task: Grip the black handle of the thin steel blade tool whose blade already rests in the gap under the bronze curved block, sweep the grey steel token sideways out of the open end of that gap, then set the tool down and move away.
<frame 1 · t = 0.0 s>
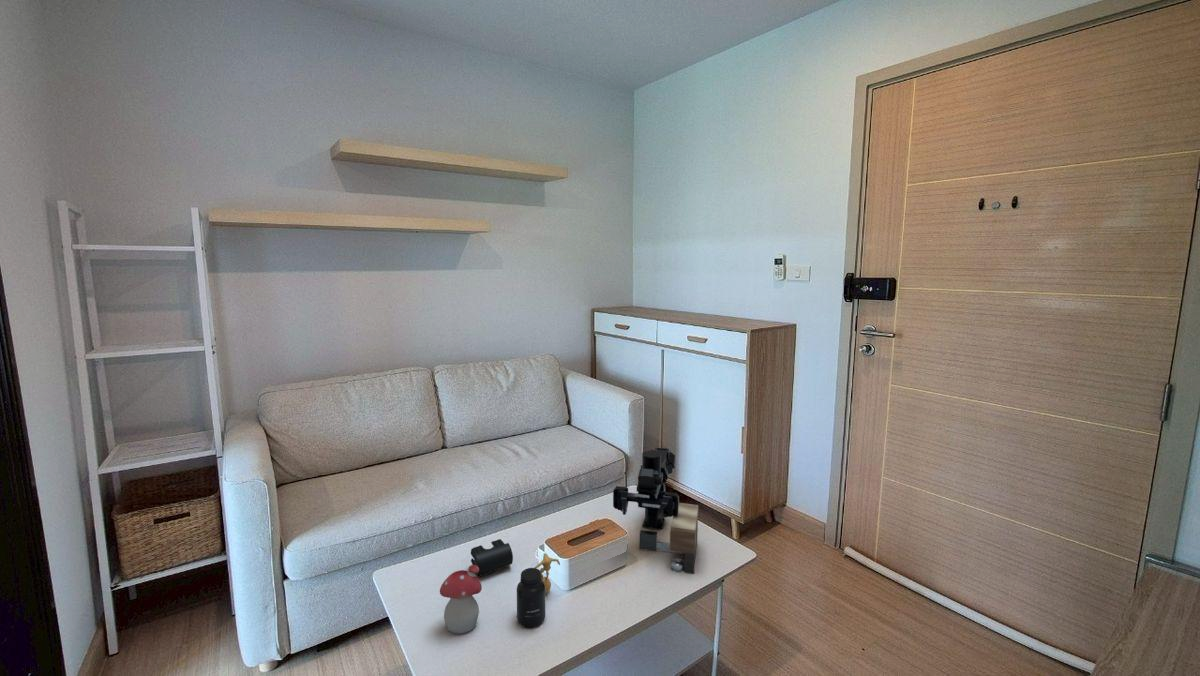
hand: (640, 515, 136), 17 cm above the table, tool horizontal, fingers open, 9 cm apart
bronze curved block: (684, 557, 145), on the table
blade tool: (648, 548, 149), on the table
steel token: (677, 568, 140), on the table
decorative ornament: (462, 625, 118), on the table
figurine: (544, 595, 129), on the table
supplement bottle: (531, 619, 120), on the table
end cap: (491, 570, 139), on the table
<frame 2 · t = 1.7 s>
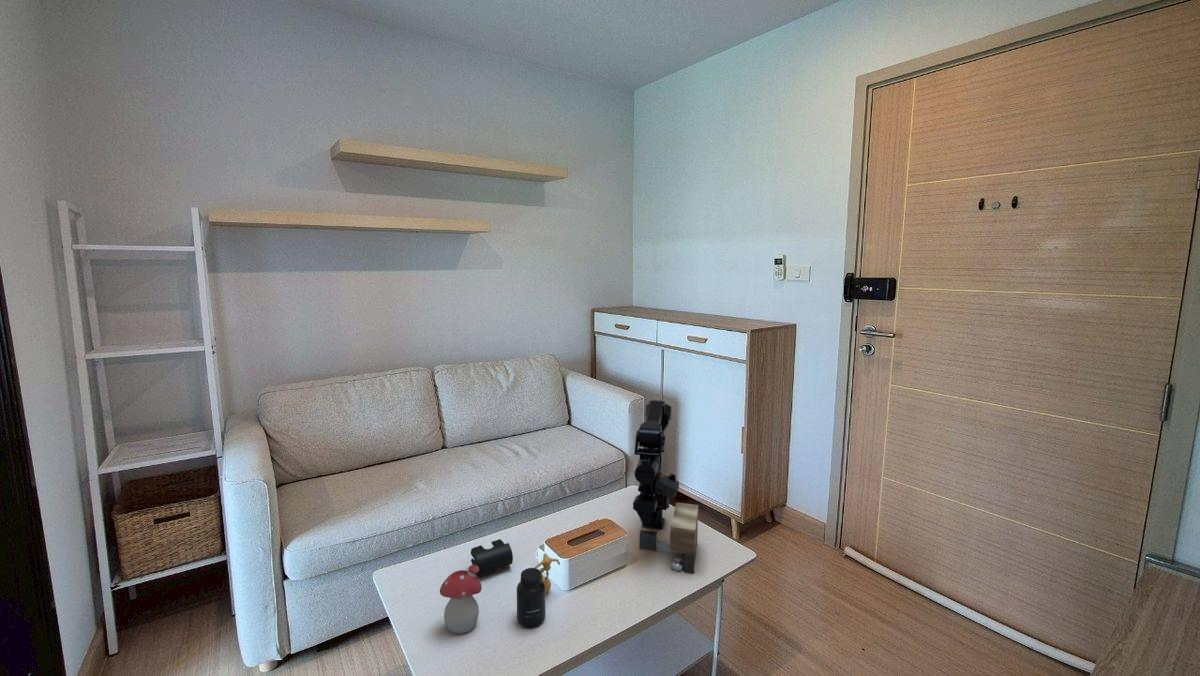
hand: (648, 518, 148), 9 cm above the table, tool pointing down, fingers open, 9 cm apart
nothing on the table moved.
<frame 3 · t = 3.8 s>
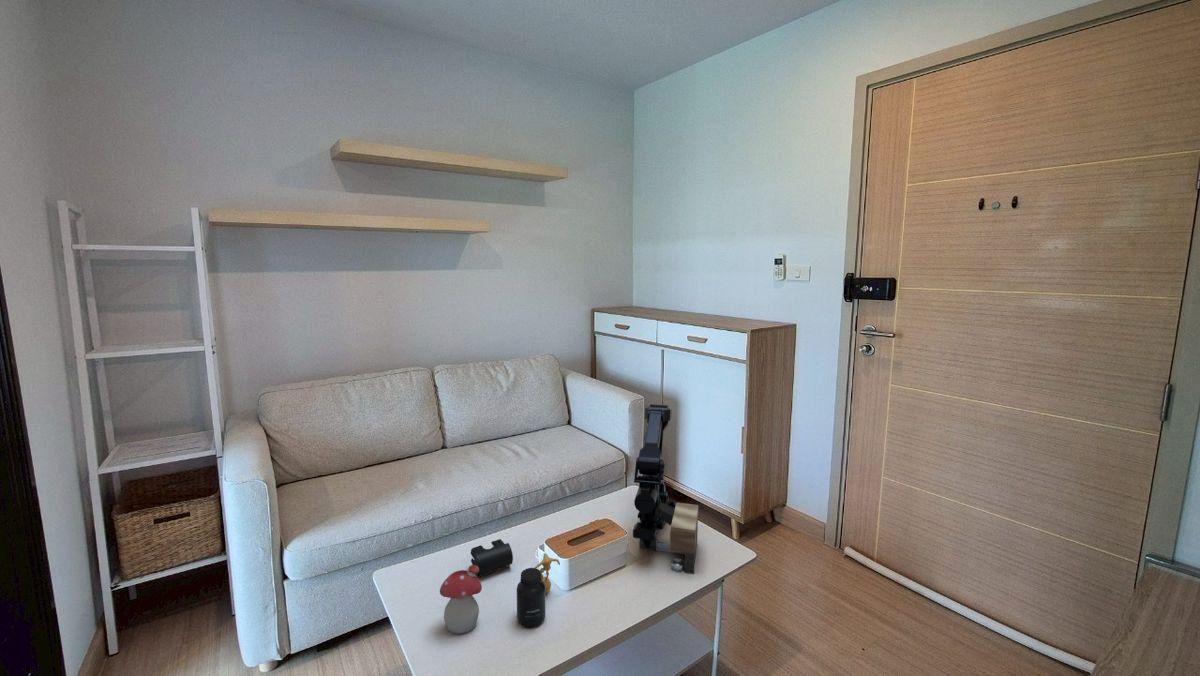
hand: (648, 544, 149), 1 cm above the table, tool pointing down, fingers closed on blade tool, 2 cm apart
blade tool: (648, 548, 149), on the table, touching gripper
everything else where it was.
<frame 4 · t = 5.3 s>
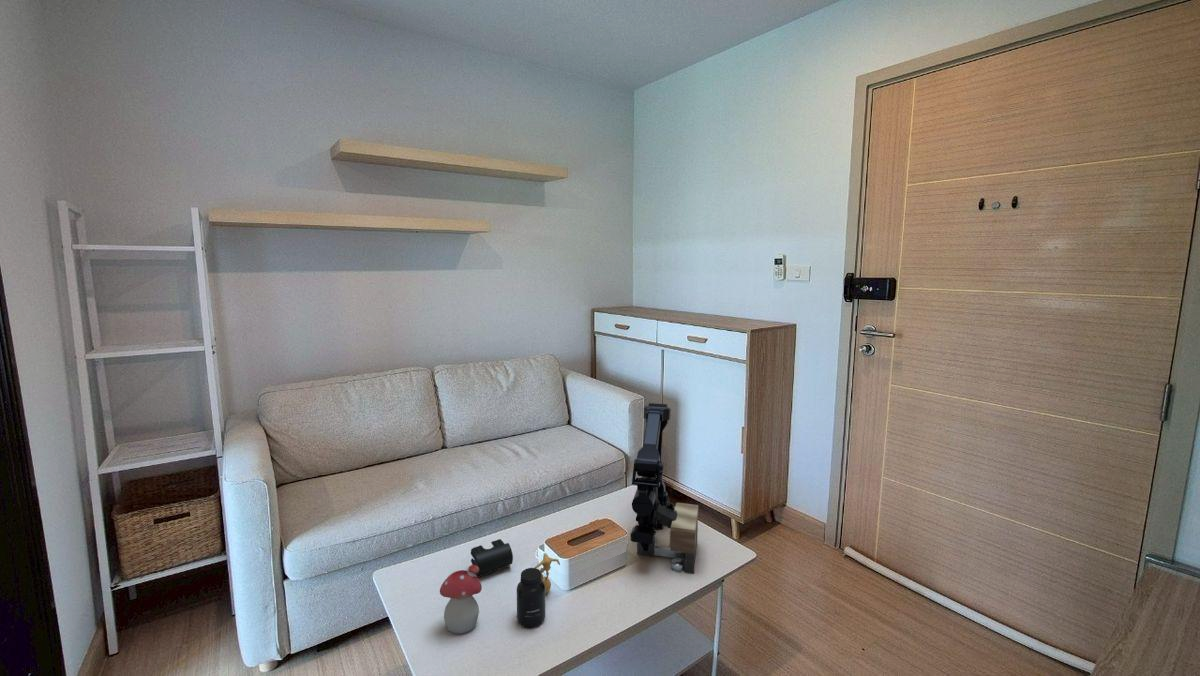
hand: (646, 548, 146), 2 cm above the table, tool pointing down, fingers closed on blade tool, 2 cm apart
blade tool: (646, 552, 146), point 1 cm above the table, touching gripper
everything else where it was.
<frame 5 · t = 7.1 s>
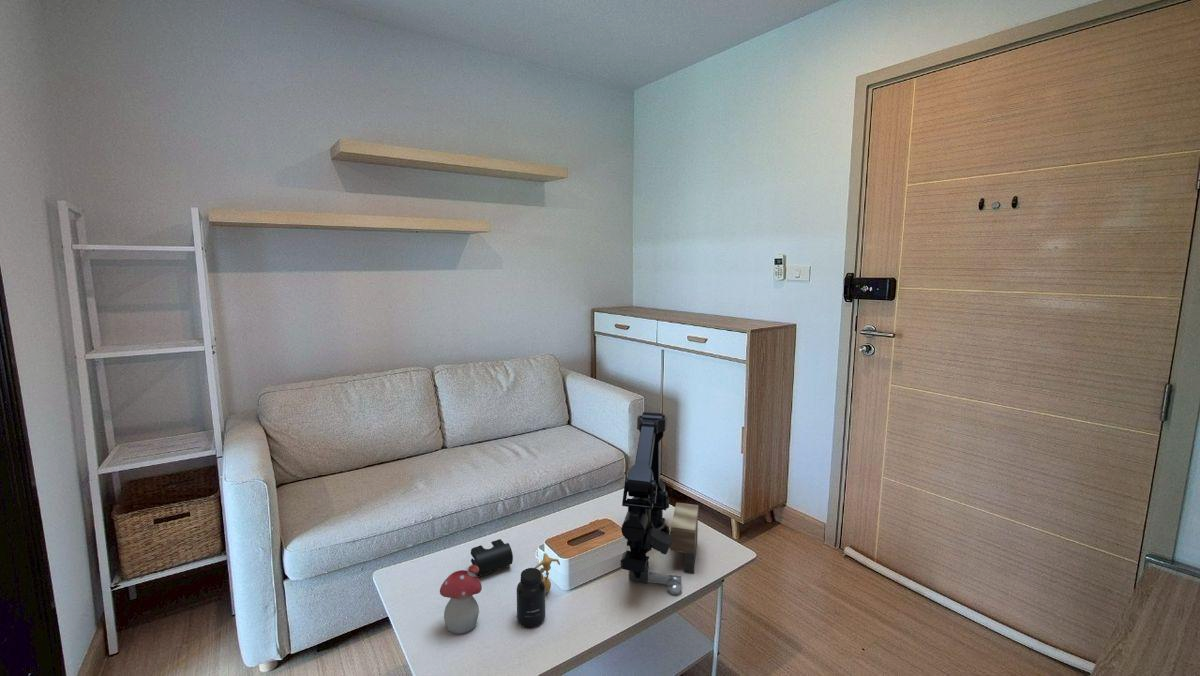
hand: (638, 574, 134), 2 cm above the table, tool pointing down, fingers closed on blade tool, 2 cm apart
blade tool: (638, 579, 134), point 1 cm above the table, touching gripper
steel token: (674, 591, 130), on the table
everything else where it was.
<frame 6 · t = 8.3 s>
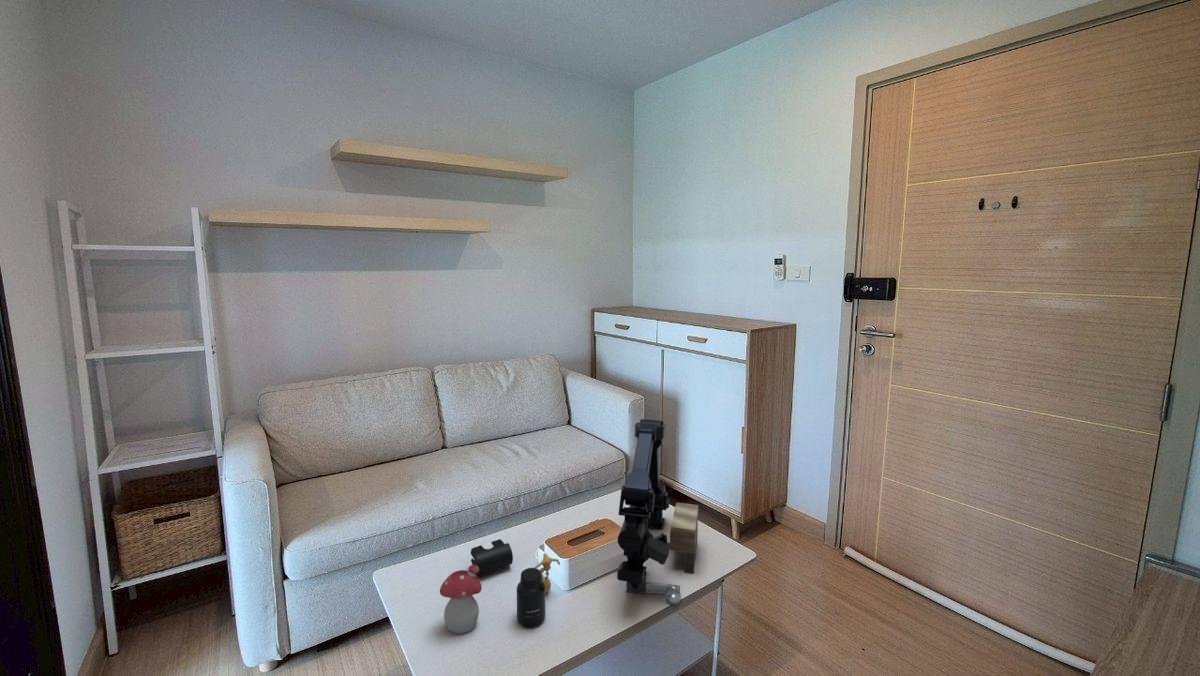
hand: (636, 585, 130), 2 cm above the table, tool pointing down, fingers closed on blade tool, 2 cm apart
blade tool: (636, 590, 130), on the table, touching gripper, steel token
steel token: (673, 600, 127), on the table, touching blade tool
everything else where it was.
when the fingers open (1 cm above the table, at t = 9.6 s): blade tool stays where it is, on the table.
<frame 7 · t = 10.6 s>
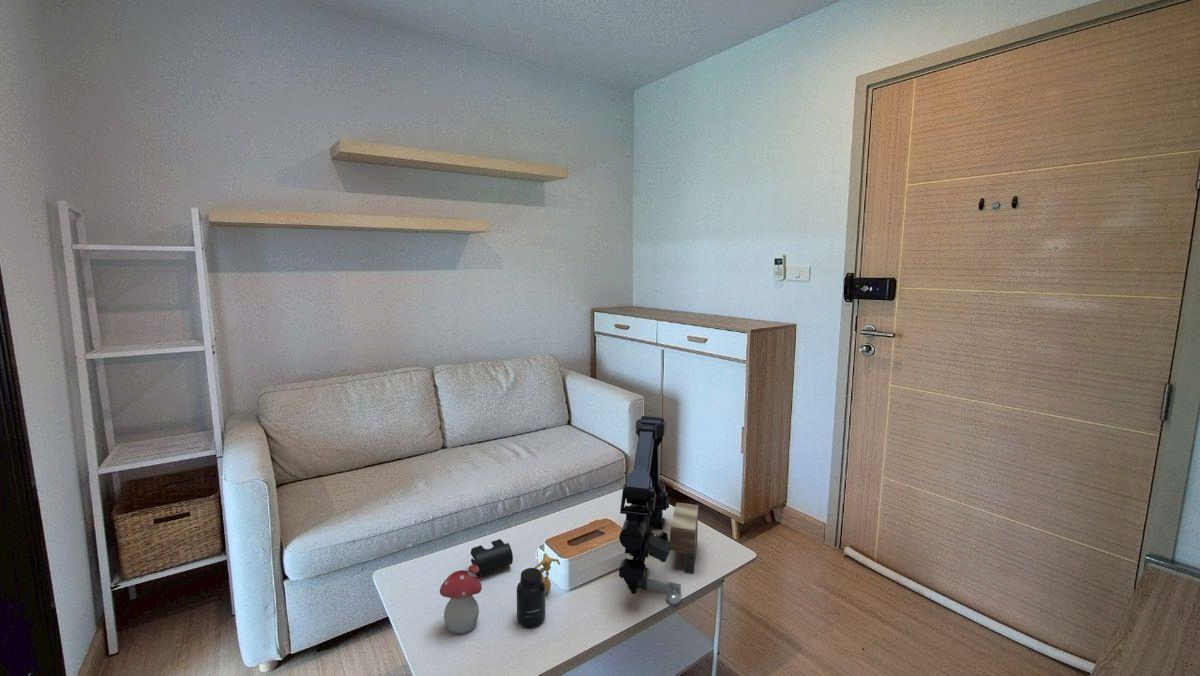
hand: (637, 582, 132), 1 cm above the table, tool pointing down, fingers open, 9 cm apart
blade tool: (637, 586, 132), on the table
steel token: (673, 601, 127), on the table
everything else where it was.
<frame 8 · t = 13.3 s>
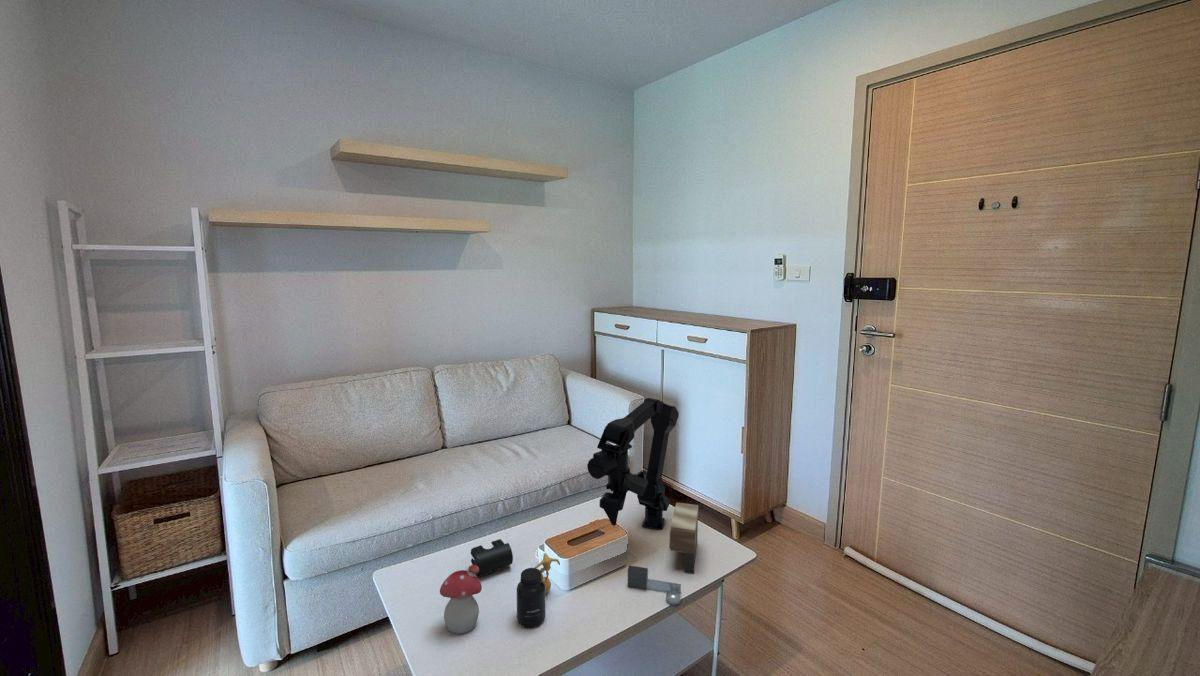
hand: (617, 516, 146), 11 cm above the table, tool pointing down, fingers open, 9 cm apart
nothing on the table moved.
at the end: steel token inside the target area (0.3 cm from its centre), on the table; the gripper is holding nothing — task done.
